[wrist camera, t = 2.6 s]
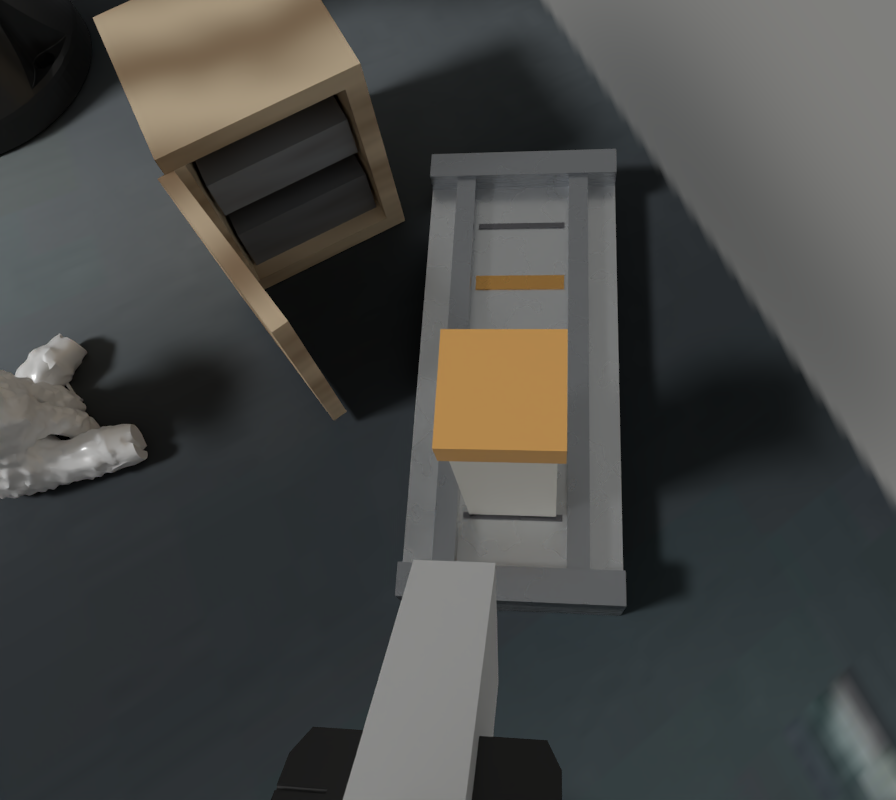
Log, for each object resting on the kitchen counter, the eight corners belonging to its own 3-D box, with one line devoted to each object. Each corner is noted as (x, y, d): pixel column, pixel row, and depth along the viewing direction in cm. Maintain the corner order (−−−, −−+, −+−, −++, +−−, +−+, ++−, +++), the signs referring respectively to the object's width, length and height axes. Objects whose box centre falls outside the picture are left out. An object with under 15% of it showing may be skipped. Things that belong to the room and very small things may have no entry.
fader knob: (562, 523, 36) (567, 451, 27) (462, 520, 37) (432, 448, 27) (563, 428, 38) (567, 329, 28) (467, 427, 39) (440, 329, 29)
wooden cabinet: (188, 177, 50) (85, 20, 39) (338, 106, 50) (279, -68, 39) (308, 442, 42) (222, 340, 31) (483, 353, 43) (460, 223, 32)
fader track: (620, 615, 37) (626, 606, 34) (406, 605, 38) (394, 595, 35) (611, 186, 46) (616, 148, 43) (439, 190, 47) (431, 154, 44)
